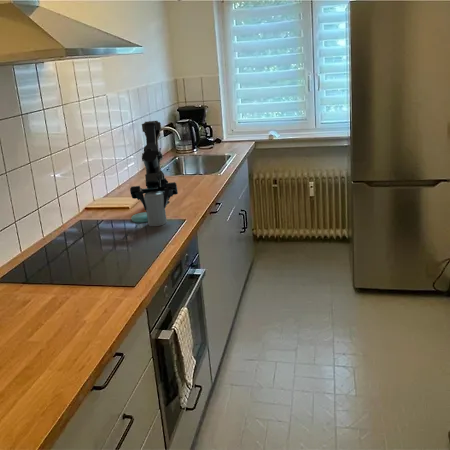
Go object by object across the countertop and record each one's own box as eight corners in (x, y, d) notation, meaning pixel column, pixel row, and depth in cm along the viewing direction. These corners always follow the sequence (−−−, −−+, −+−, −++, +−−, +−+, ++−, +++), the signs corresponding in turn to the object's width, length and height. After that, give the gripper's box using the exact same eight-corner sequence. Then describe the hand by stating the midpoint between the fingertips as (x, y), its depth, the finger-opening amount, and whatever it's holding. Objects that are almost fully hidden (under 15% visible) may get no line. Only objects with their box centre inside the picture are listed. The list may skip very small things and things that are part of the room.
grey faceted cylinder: (144, 225, 206) (140, 195, 202) (155, 219, 212) (151, 190, 209) (160, 226, 203) (156, 196, 199) (170, 220, 209) (166, 191, 205)
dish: (126, 221, 214) (126, 218, 213) (141, 213, 223) (141, 211, 222) (148, 223, 209) (147, 220, 208) (162, 215, 218) (162, 212, 217)
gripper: (127, 167, 204) (128, 201, 197) (173, 162, 205) (176, 196, 198) (131, 181, 214) (133, 214, 207) (176, 177, 214) (179, 209, 207)
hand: (155, 208), depth 204 cm, fingers closed on grey faceted cylinder, 7 cm apart
